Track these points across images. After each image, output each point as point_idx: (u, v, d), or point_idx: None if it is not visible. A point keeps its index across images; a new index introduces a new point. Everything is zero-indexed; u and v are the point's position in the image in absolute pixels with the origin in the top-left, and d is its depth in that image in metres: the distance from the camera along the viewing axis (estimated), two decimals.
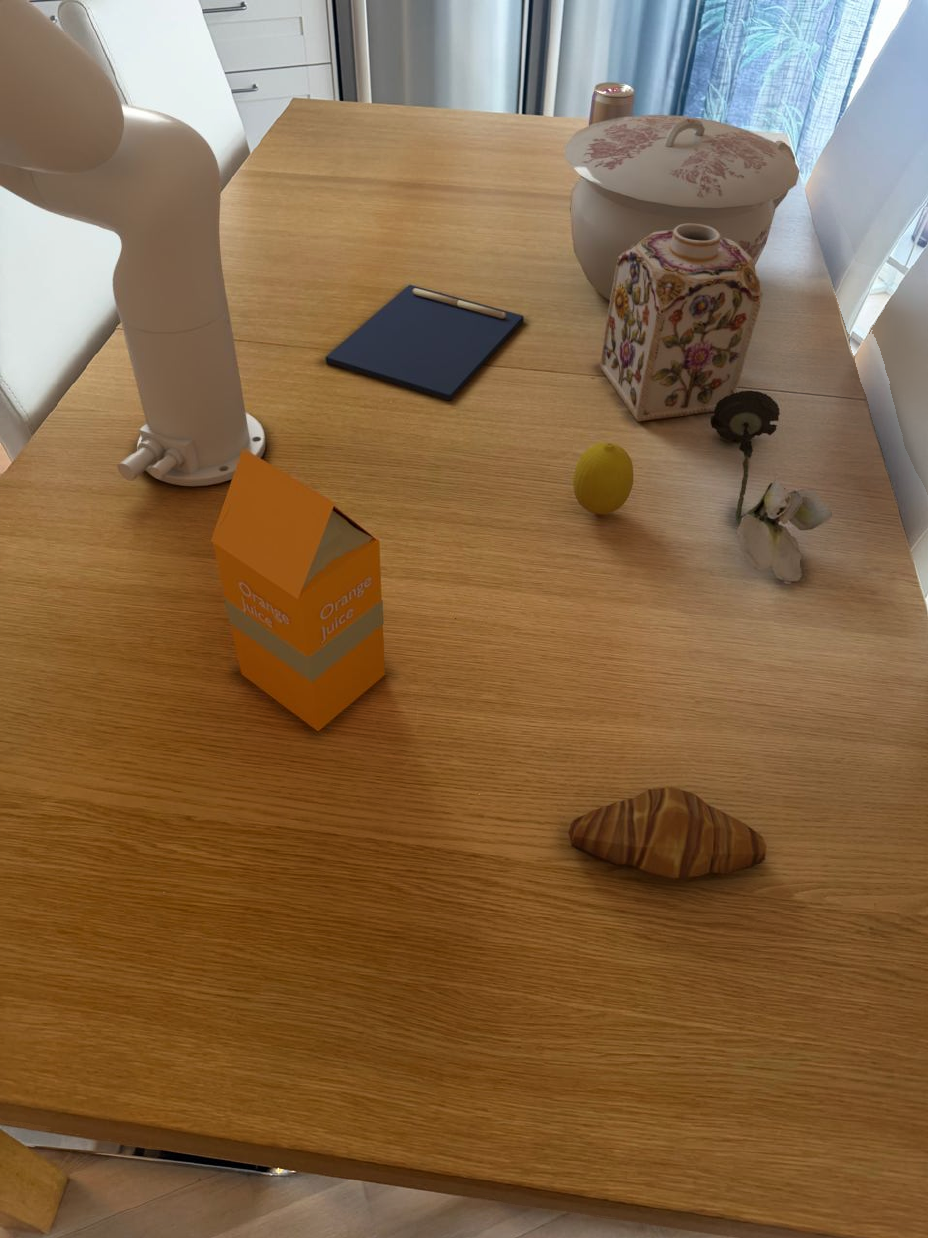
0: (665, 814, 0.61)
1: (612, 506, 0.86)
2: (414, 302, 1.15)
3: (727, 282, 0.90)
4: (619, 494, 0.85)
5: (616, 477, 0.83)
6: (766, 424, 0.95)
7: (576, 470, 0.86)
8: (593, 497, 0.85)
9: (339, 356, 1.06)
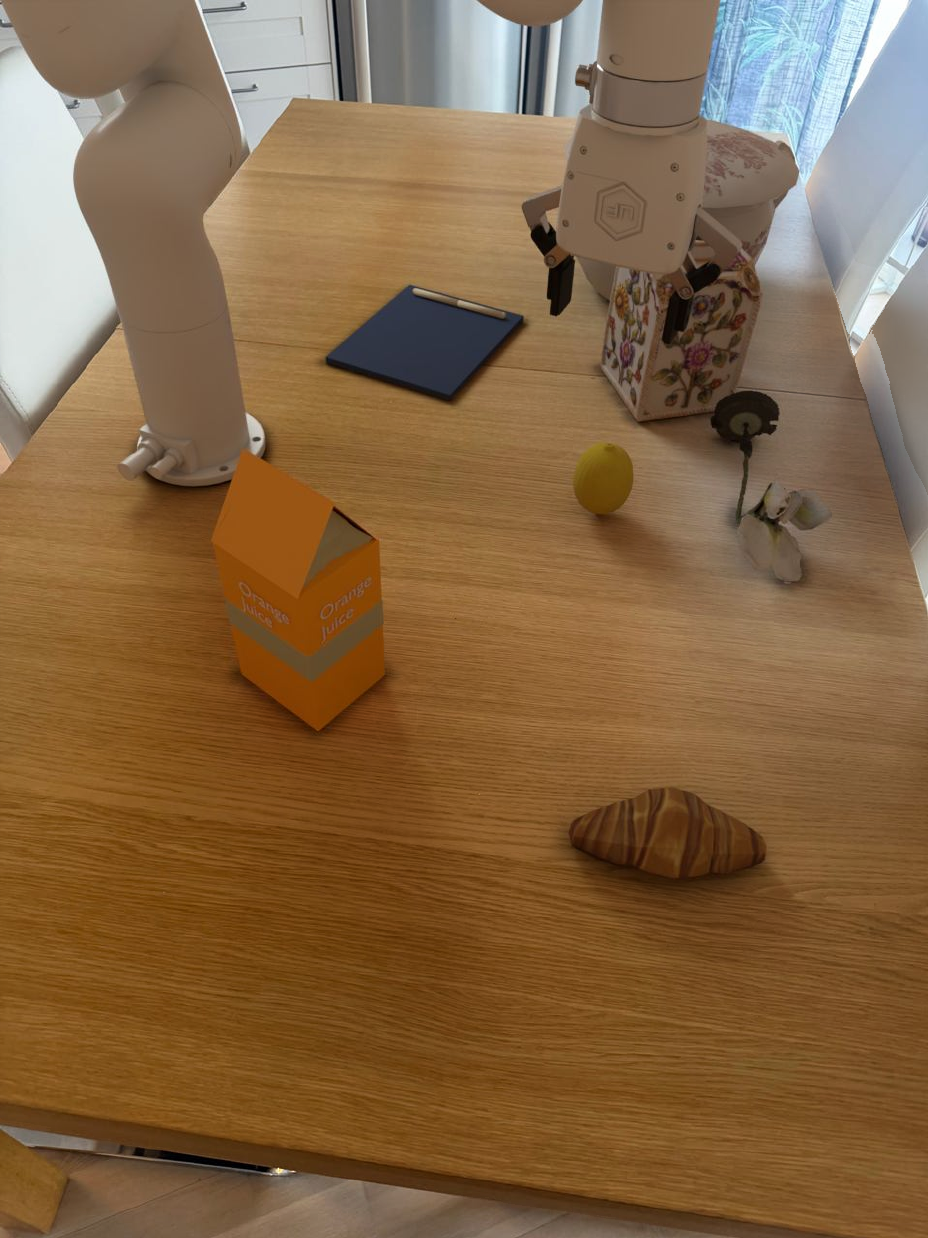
0: (665, 814, 0.61)
1: (612, 506, 0.86)
2: (414, 302, 1.15)
3: (727, 282, 0.90)
4: (619, 494, 0.85)
5: (616, 477, 0.83)
6: (766, 424, 0.95)
7: (576, 470, 0.86)
8: (593, 497, 0.85)
9: (339, 356, 1.06)
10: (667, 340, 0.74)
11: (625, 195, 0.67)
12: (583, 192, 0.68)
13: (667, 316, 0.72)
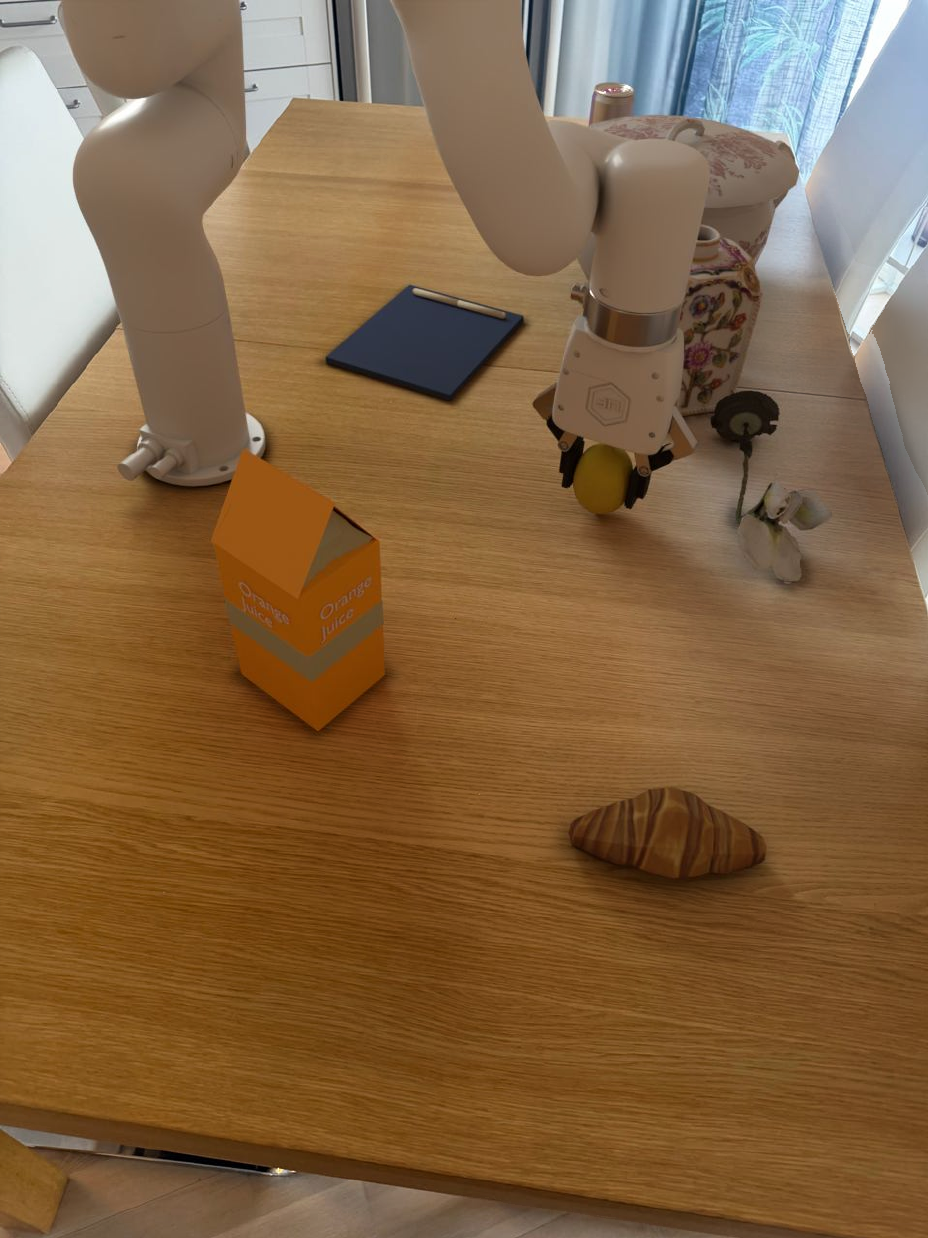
0: (665, 814, 0.61)
1: (612, 506, 0.86)
2: (414, 302, 1.15)
3: (727, 282, 0.90)
4: (619, 494, 0.85)
5: (615, 477, 0.83)
6: (766, 424, 0.95)
7: (576, 470, 0.86)
8: (593, 497, 0.85)
9: (339, 356, 1.06)
10: (629, 506, 0.85)
11: (612, 392, 0.77)
12: (576, 386, 0.78)
13: (628, 488, 0.84)
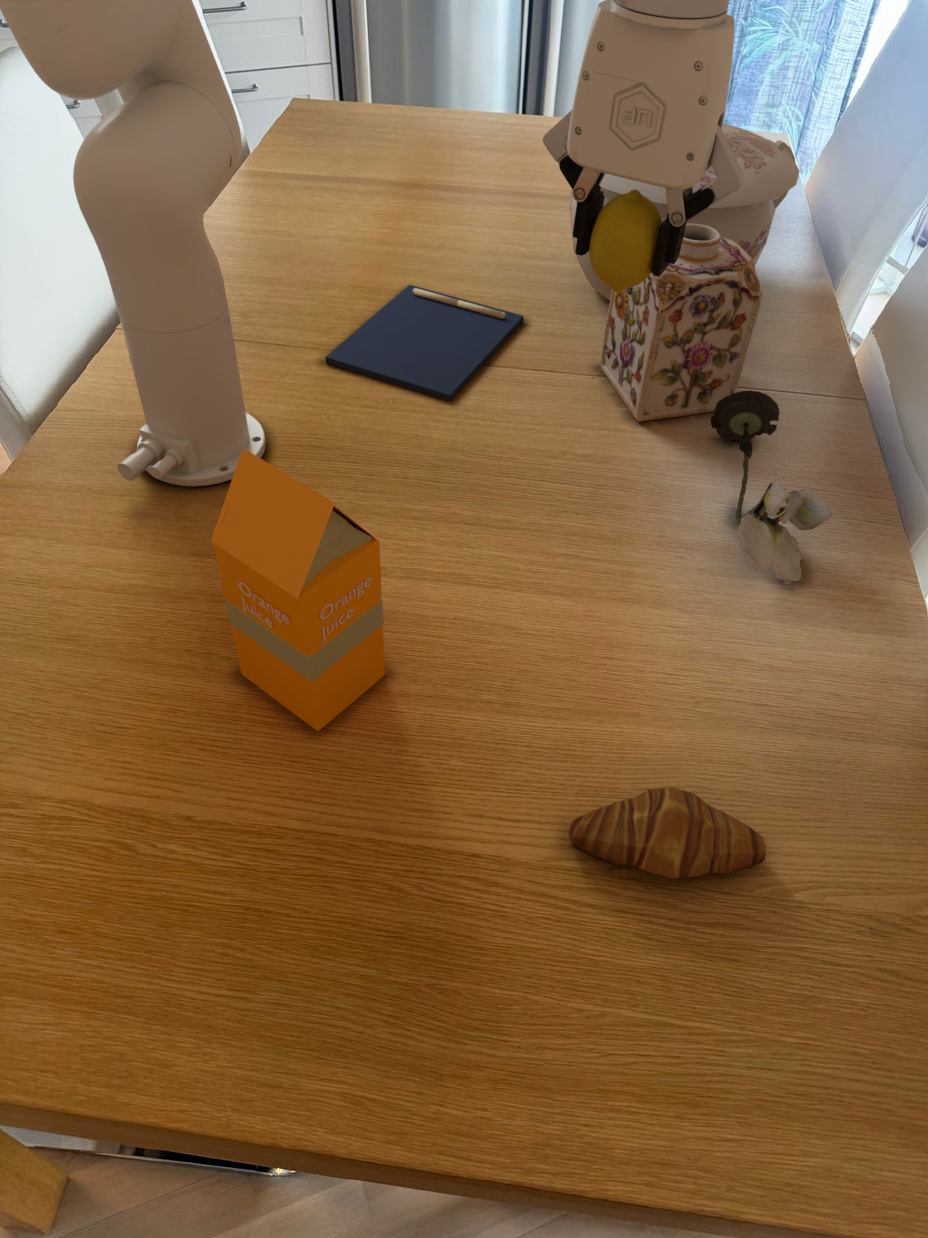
0: (665, 814, 0.61)
1: (636, 273, 0.71)
2: (414, 302, 1.15)
3: (727, 282, 0.90)
4: (646, 254, 0.70)
5: (642, 230, 0.69)
6: (766, 424, 0.95)
7: (594, 228, 0.71)
8: (614, 258, 0.70)
9: (339, 356, 1.06)
10: (656, 271, 0.70)
11: (643, 98, 0.62)
12: (598, 95, 0.63)
13: (657, 245, 0.69)
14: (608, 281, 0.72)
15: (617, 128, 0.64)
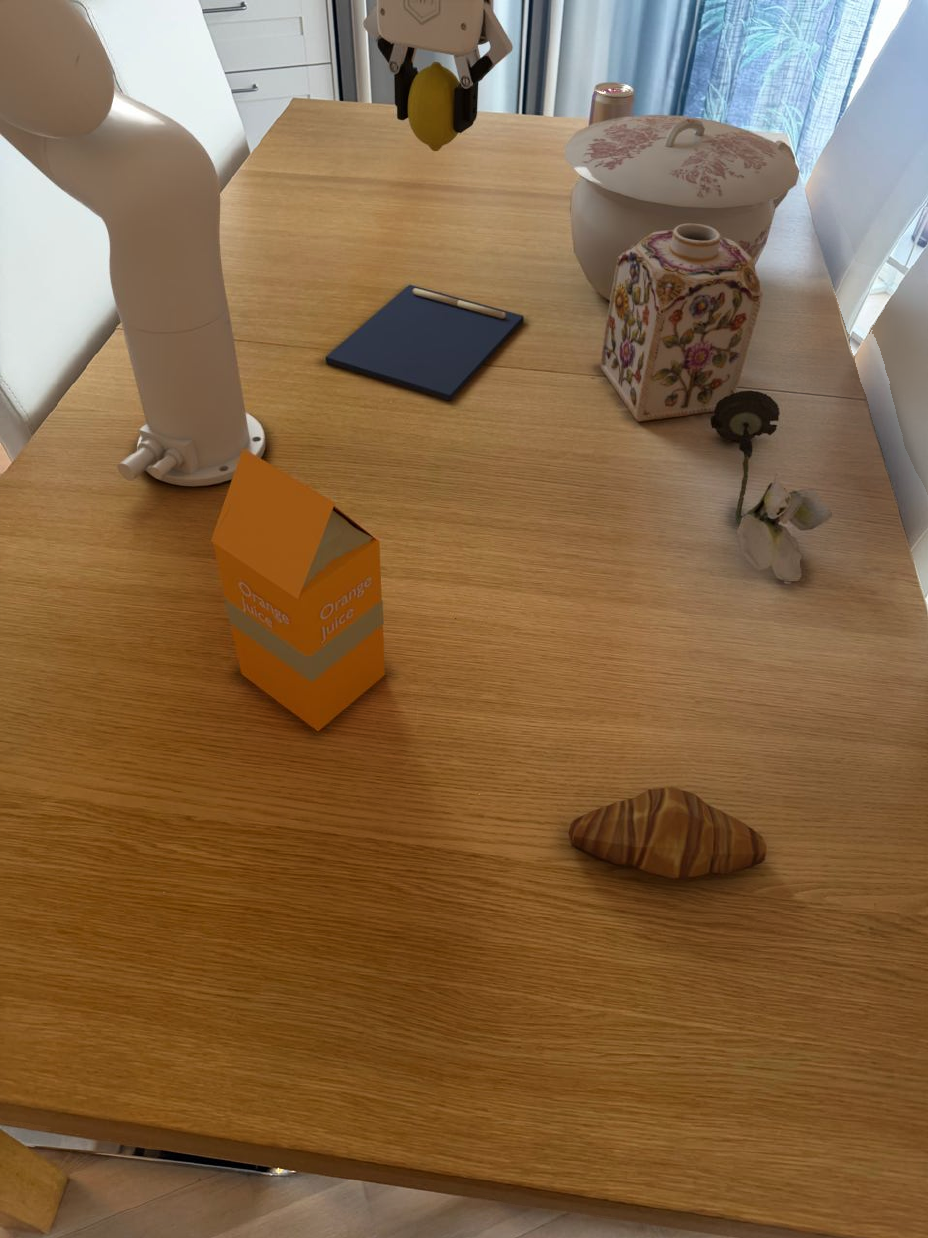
0: (665, 814, 0.61)
1: (442, 130, 0.90)
2: (414, 302, 1.15)
3: (727, 282, 0.90)
4: (448, 114, 0.89)
5: (442, 92, 0.88)
6: (766, 424, 0.95)
7: None
8: (423, 117, 0.89)
9: (339, 356, 1.06)
10: (457, 128, 0.89)
11: None
12: None
13: (454, 105, 0.88)
14: (423, 139, 0.91)
15: (409, 7, 0.83)
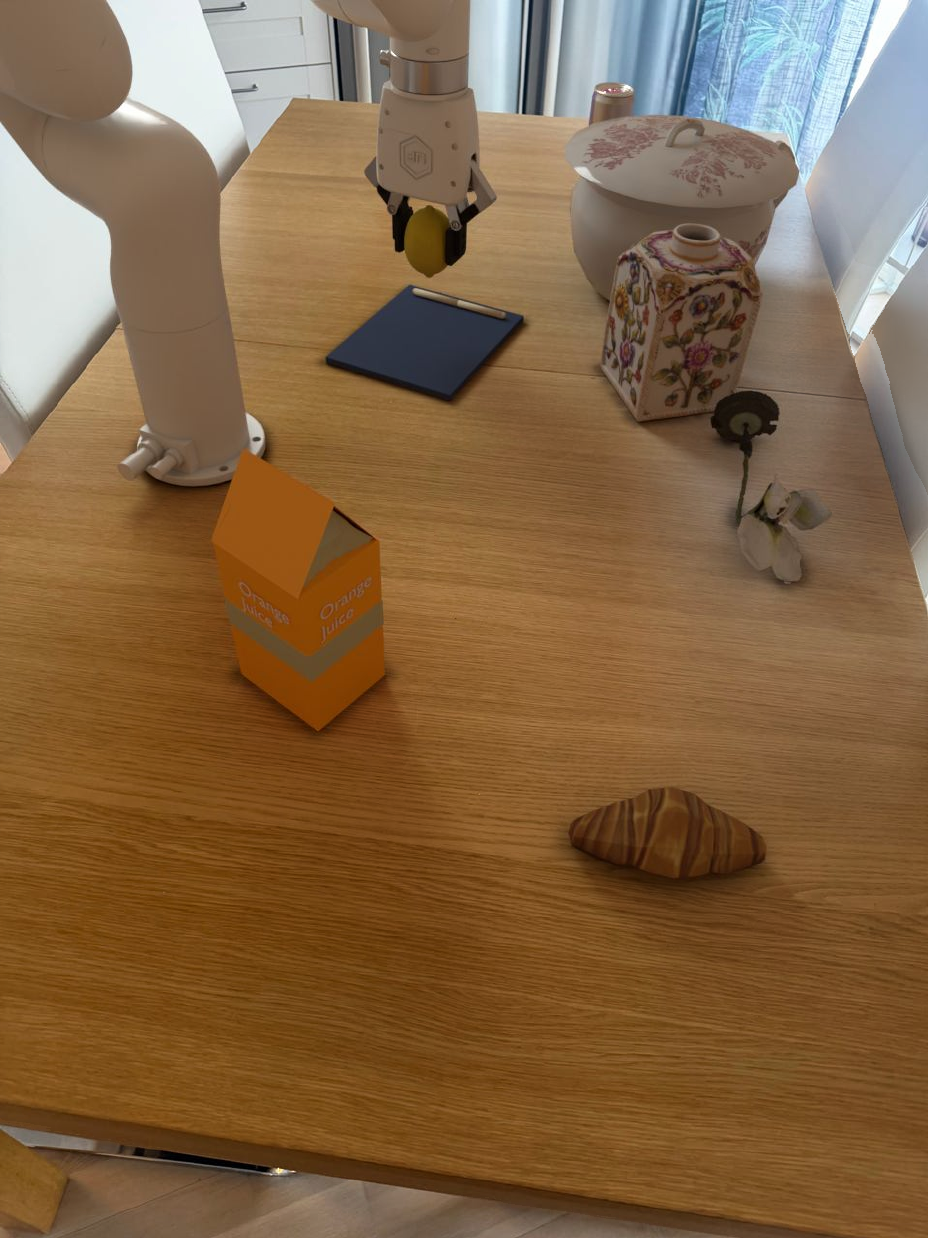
0: (665, 814, 0.61)
1: (435, 263, 1.01)
2: (414, 302, 1.15)
3: (727, 282, 0.90)
4: (440, 250, 1.00)
5: (434, 233, 0.99)
6: (766, 424, 0.95)
7: (405, 232, 1.01)
8: (418, 253, 1.00)
9: (339, 356, 1.06)
10: (448, 262, 1.00)
11: (418, 145, 0.92)
12: (390, 143, 0.93)
13: (446, 244, 0.99)
14: (418, 269, 1.02)
15: (405, 165, 0.94)
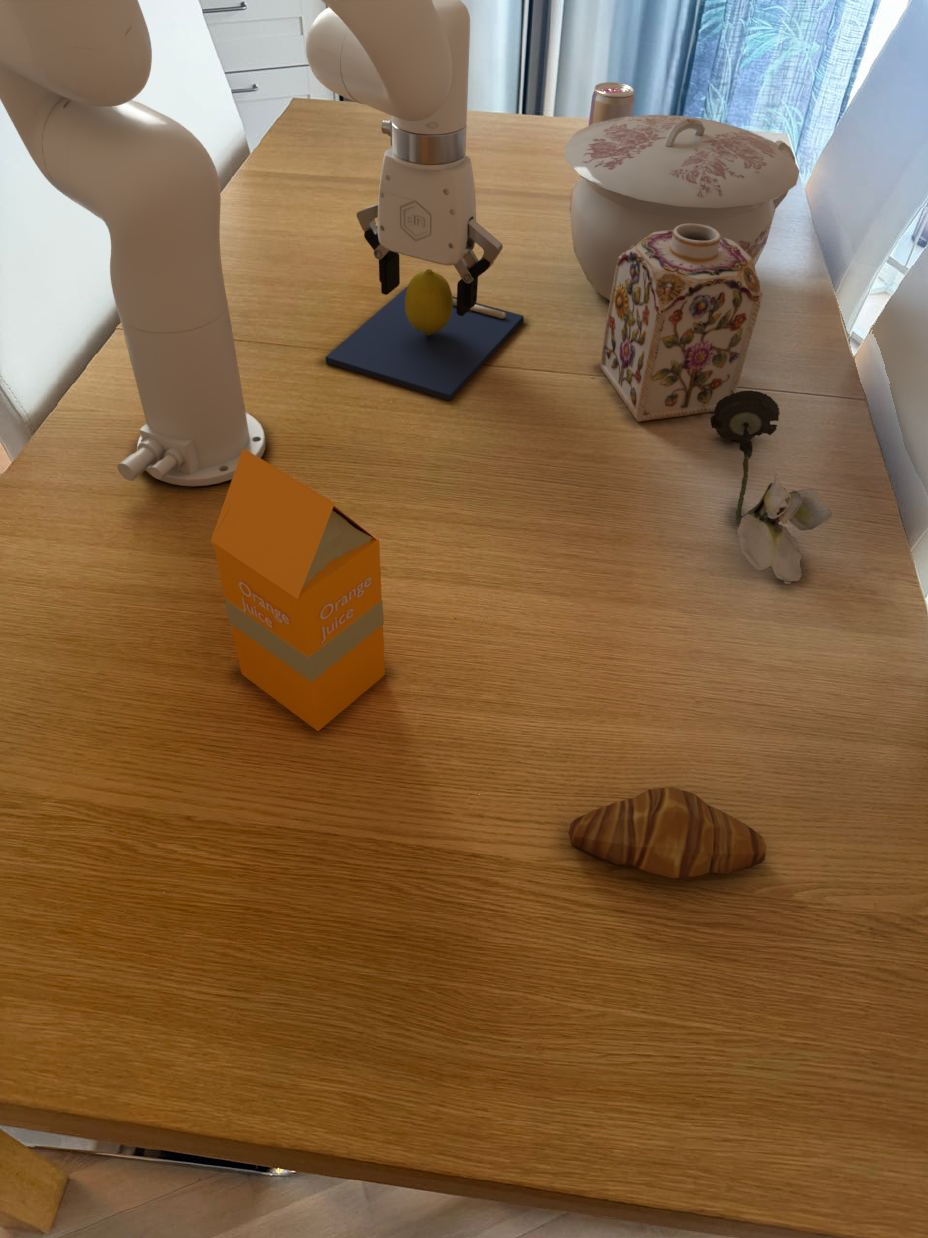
0: (665, 814, 0.61)
1: (434, 323, 1.06)
2: None
3: (727, 282, 0.90)
4: (439, 311, 1.05)
5: (434, 296, 1.04)
6: (766, 424, 0.95)
7: (405, 294, 1.06)
8: (417, 314, 1.05)
9: (339, 356, 1.06)
10: (460, 313, 1.03)
11: (417, 209, 0.96)
12: (391, 206, 0.97)
13: (457, 295, 1.02)
14: (418, 329, 1.07)
15: (405, 227, 0.98)
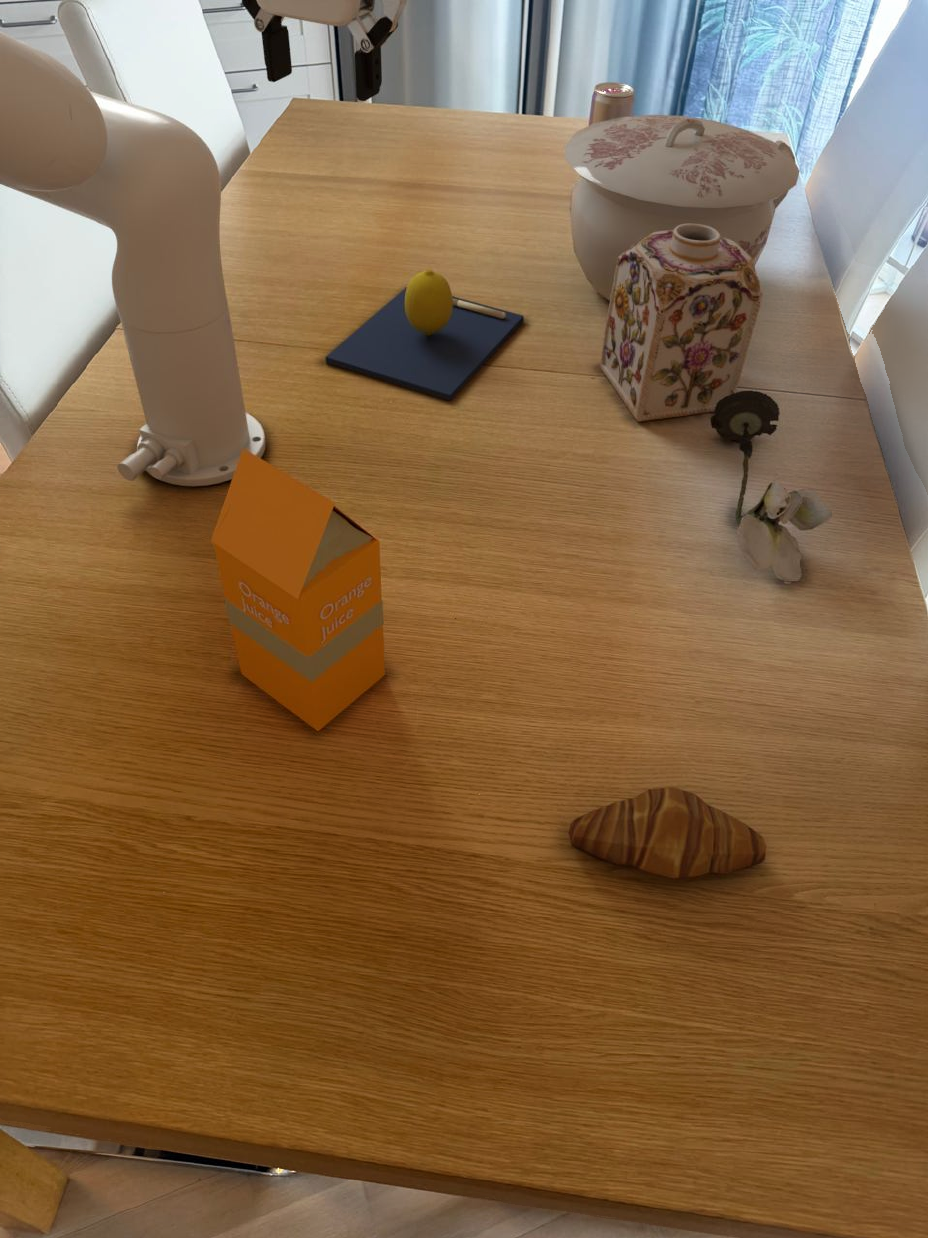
0: (665, 814, 0.61)
1: (434, 323, 1.06)
2: None
3: (727, 282, 0.90)
4: (439, 311, 1.05)
5: (433, 296, 1.04)
6: (766, 424, 0.95)
7: (405, 294, 1.06)
8: (417, 314, 1.05)
9: (339, 356, 1.06)
10: (360, 96, 0.84)
11: None
12: None
13: (356, 71, 0.83)
14: (418, 329, 1.07)
15: None
